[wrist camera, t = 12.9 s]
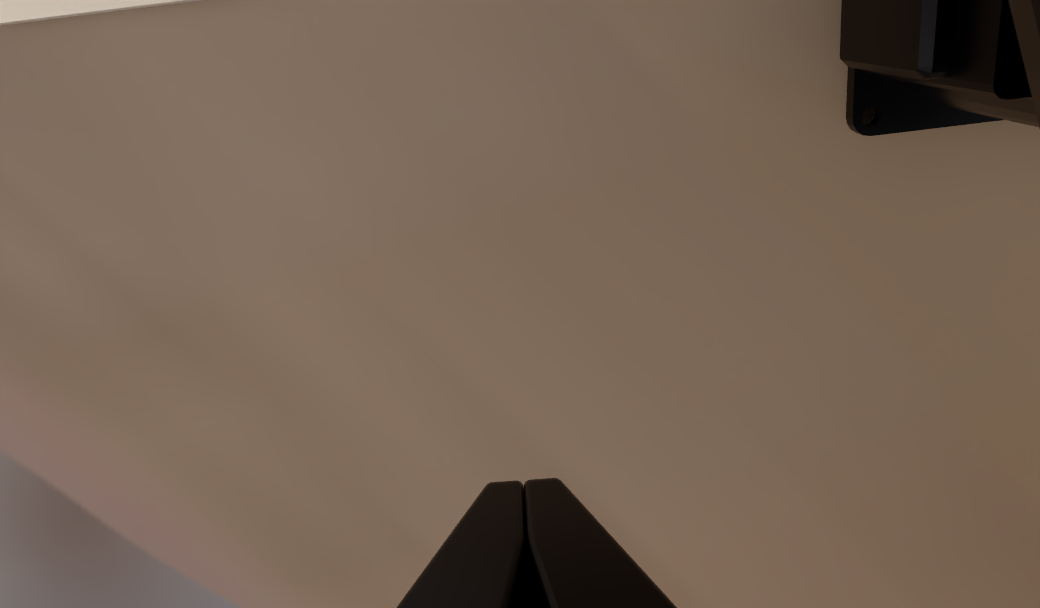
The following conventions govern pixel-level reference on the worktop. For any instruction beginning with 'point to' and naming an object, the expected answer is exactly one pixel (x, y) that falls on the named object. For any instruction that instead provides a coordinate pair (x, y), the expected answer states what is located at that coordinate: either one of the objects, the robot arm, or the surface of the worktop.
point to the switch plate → (67, 8)
